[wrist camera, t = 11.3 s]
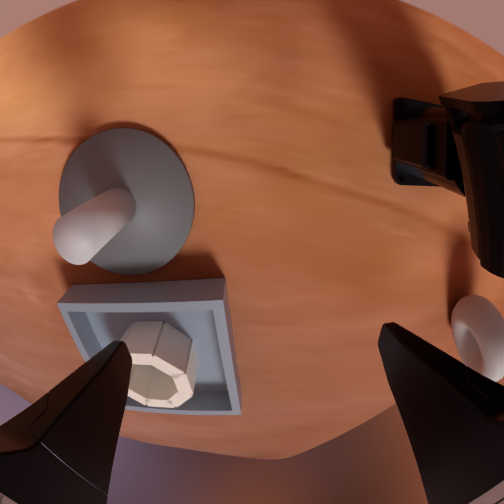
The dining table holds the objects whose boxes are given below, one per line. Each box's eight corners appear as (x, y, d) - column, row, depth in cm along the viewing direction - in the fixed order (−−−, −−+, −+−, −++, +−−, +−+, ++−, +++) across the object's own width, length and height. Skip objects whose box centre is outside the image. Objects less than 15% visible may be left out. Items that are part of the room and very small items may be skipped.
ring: (187, 320, 22) (179, 354, 19) (205, 386, 26) (202, 417, 22) (113, 321, 22) (97, 351, 19) (141, 384, 26) (132, 413, 22)
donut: (442, 287, 23) (500, 351, 14) (466, 270, 22) (527, 327, 13) (445, 346, 27) (484, 405, 18) (466, 332, 26) (508, 386, 17)
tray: (225, 277, 22) (223, 300, 19) (241, 391, 27) (241, 414, 25) (72, 284, 22) (56, 303, 19) (120, 388, 27) (113, 407, 25)
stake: (186, 115, 17) (154, 108, 10) (204, 267, 21) (189, 326, 15) (53, 146, 17) (-9, 161, 10) (81, 274, 21) (40, 322, 15)
